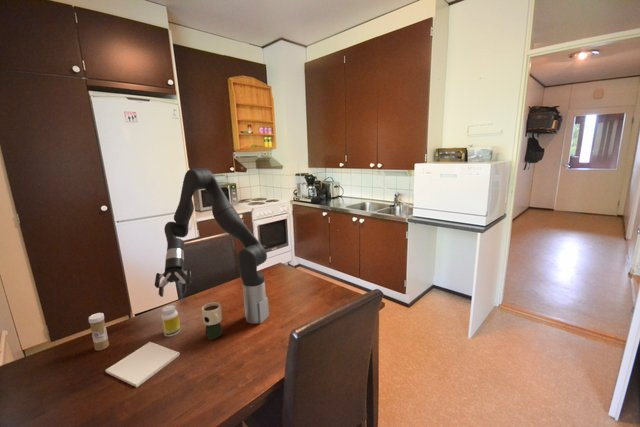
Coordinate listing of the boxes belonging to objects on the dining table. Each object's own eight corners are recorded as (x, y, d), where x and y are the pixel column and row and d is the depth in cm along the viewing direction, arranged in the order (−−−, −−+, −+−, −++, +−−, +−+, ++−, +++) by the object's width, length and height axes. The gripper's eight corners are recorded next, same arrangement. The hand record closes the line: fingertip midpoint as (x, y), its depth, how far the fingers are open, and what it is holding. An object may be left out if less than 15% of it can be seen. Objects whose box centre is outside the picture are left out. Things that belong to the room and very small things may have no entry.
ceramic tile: (179, 355, 105) (179, 352, 104) (136, 387, 90) (136, 384, 90) (150, 343, 111) (149, 341, 111) (105, 372, 97) (105, 370, 97)
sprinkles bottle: (93, 352, 107) (86, 320, 104) (96, 345, 111) (90, 314, 108) (108, 349, 109) (101, 317, 106) (110, 342, 113) (104, 311, 110)
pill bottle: (183, 329, 120) (180, 305, 118) (171, 338, 114) (168, 313, 112) (172, 326, 122) (168, 303, 120) (160, 335, 116) (156, 310, 114)
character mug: (200, 333, 117) (196, 304, 114) (217, 326, 122) (214, 298, 119) (211, 346, 109) (207, 315, 106) (228, 338, 114) (225, 308, 111)
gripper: (155, 258, 127) (151, 294, 118) (189, 255, 131) (188, 289, 122) (159, 265, 133) (156, 300, 125) (193, 261, 137) (192, 295, 128)
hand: (172, 294), depth 123 cm, fingers open, 8 cm apart
